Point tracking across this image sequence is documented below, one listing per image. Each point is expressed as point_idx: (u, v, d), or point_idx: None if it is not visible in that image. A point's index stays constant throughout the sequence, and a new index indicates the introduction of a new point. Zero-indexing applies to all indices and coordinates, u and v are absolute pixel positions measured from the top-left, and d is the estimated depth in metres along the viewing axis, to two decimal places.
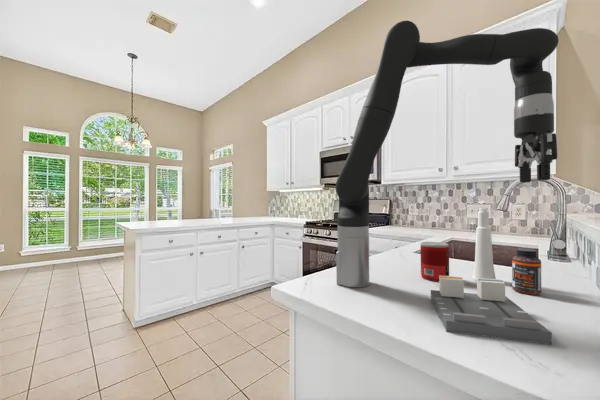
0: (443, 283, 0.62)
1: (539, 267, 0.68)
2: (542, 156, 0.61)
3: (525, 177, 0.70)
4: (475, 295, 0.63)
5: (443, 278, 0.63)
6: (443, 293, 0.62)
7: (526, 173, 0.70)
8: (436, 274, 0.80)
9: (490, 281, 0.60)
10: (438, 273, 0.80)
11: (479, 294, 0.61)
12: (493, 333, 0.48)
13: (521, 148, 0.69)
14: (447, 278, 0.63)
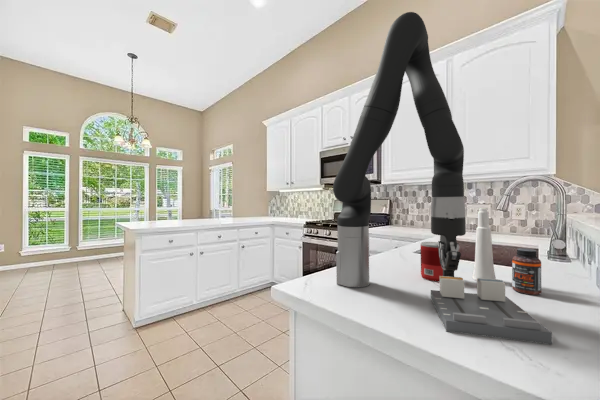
0: (443, 284, 0.62)
1: (539, 267, 0.68)
2: (445, 266, 0.64)
3: None
4: (475, 295, 0.63)
5: (443, 278, 0.62)
6: (443, 294, 0.62)
7: (449, 275, 0.66)
8: (436, 274, 0.80)
9: (490, 281, 0.60)
10: (438, 273, 0.80)
11: (479, 294, 0.61)
12: (493, 333, 0.48)
13: (438, 244, 0.68)
14: (447, 278, 0.62)
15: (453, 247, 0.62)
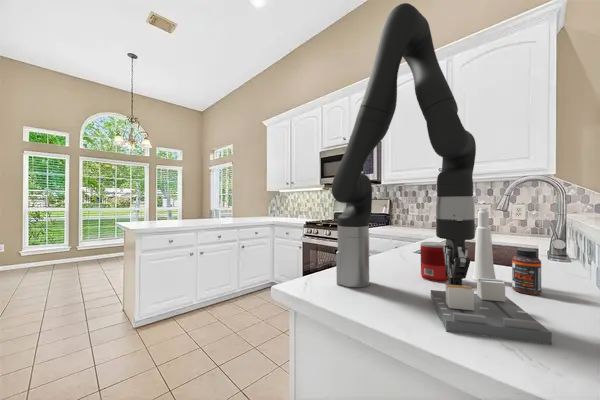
0: (450, 293, 0.55)
1: (539, 267, 0.68)
2: (452, 274, 0.57)
3: None
4: (475, 295, 0.63)
5: (450, 288, 0.56)
6: (450, 305, 0.55)
7: None
8: (436, 274, 0.80)
9: (490, 281, 0.60)
10: (438, 273, 0.80)
11: (479, 294, 0.61)
12: (493, 333, 0.48)
13: (444, 249, 0.61)
14: (455, 288, 0.56)
15: (461, 253, 0.55)
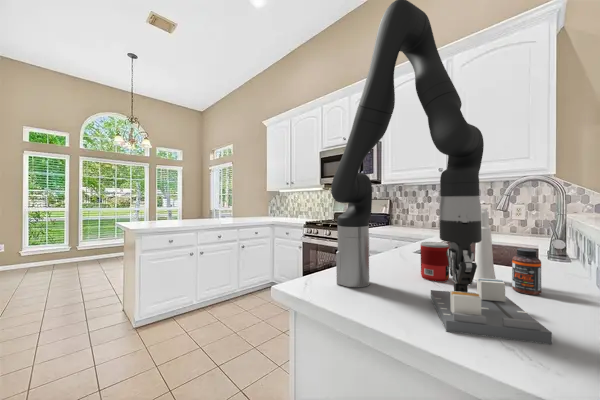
0: (456, 301, 0.51)
1: (539, 267, 0.68)
2: (457, 280, 0.53)
3: None
4: None
5: (456, 295, 0.52)
6: None
7: None
8: (436, 274, 0.80)
9: (490, 281, 0.60)
10: (438, 273, 0.80)
11: (479, 294, 0.61)
12: (493, 333, 0.48)
13: (448, 253, 0.57)
14: (460, 295, 0.52)
15: (467, 257, 0.51)
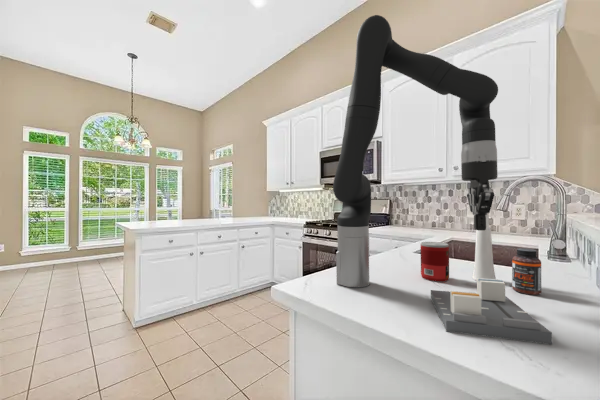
0: (456, 301, 0.51)
1: (539, 267, 0.68)
2: (477, 210, 0.65)
3: None
4: None
5: (456, 295, 0.52)
6: None
7: None
8: (436, 274, 0.80)
9: (490, 281, 0.60)
10: (438, 273, 0.80)
11: (479, 294, 0.61)
12: (493, 333, 0.48)
13: (469, 191, 0.69)
14: (460, 295, 0.51)
15: (486, 189, 0.63)
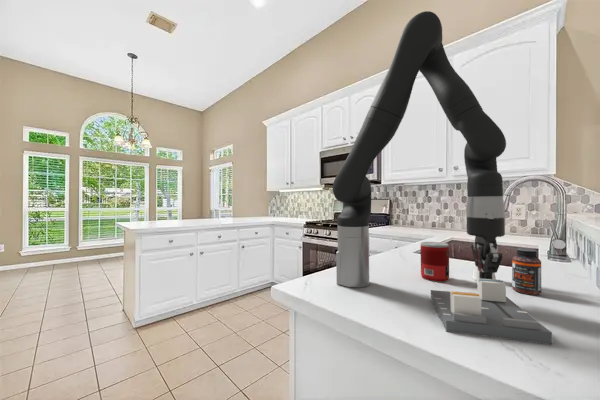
0: (456, 301, 0.51)
1: (539, 267, 0.68)
2: (483, 269, 0.62)
3: None
4: None
5: (456, 295, 0.52)
6: None
7: None
8: (436, 274, 0.80)
9: (491, 281, 0.60)
10: (438, 273, 0.80)
11: (479, 294, 0.61)
12: (493, 333, 0.48)
13: (474, 246, 0.66)
14: (460, 295, 0.51)
15: (493, 248, 0.59)
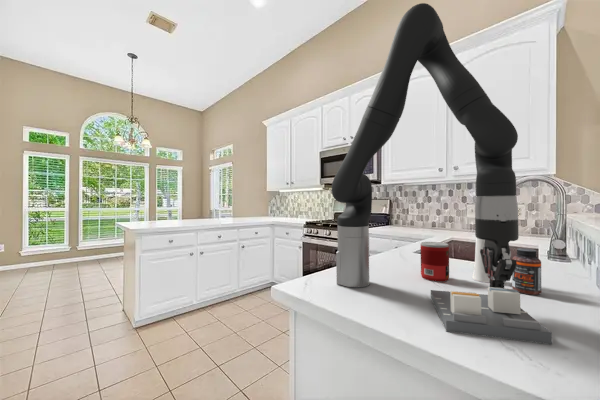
0: (456, 301, 0.51)
1: (539, 267, 0.68)
2: (495, 276, 0.55)
3: None
4: None
5: (456, 295, 0.52)
6: None
7: None
8: (436, 274, 0.80)
9: (503, 291, 0.53)
10: (438, 273, 0.80)
11: (490, 305, 0.55)
12: (493, 333, 0.48)
13: (484, 250, 0.59)
14: (460, 295, 0.51)
15: (506, 254, 0.53)
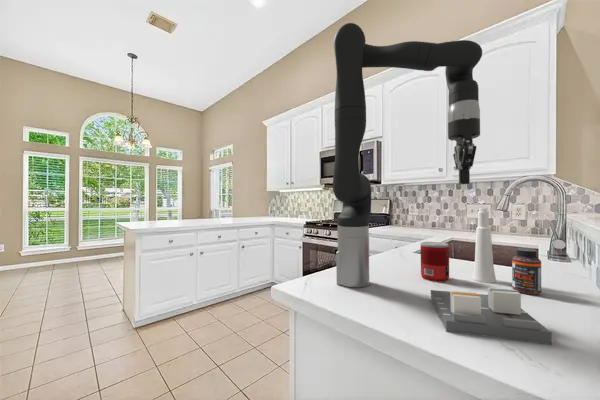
0: (456, 301, 0.51)
1: (539, 267, 0.68)
2: (461, 164, 0.71)
3: None
4: None
5: (456, 295, 0.52)
6: None
7: None
8: (436, 274, 0.80)
9: (503, 291, 0.53)
10: (438, 273, 0.80)
11: (491, 306, 0.54)
12: (493, 333, 0.48)
13: (454, 149, 0.75)
14: (460, 295, 0.51)
15: (469, 143, 0.69)
